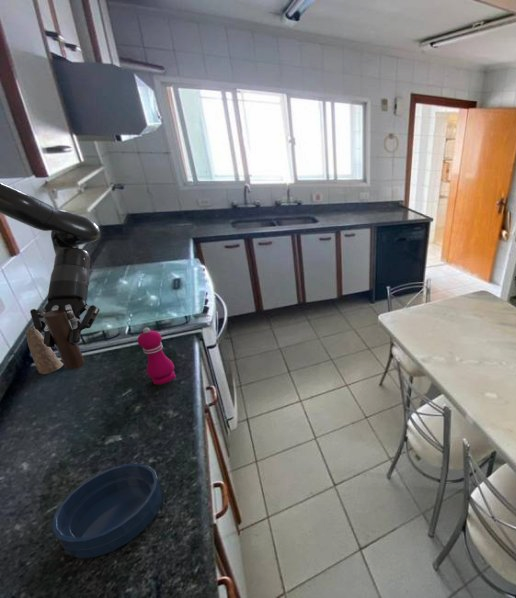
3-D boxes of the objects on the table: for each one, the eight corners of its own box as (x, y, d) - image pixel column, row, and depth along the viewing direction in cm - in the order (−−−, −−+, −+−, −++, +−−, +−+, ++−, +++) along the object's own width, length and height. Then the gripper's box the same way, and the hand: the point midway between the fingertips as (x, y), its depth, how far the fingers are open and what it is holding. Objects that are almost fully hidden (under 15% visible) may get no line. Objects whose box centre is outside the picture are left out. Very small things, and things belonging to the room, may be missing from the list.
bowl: (48, 575, 60) (35, 556, 57) (81, 496, 73) (72, 477, 70) (155, 538, 66) (148, 520, 64) (168, 472, 79) (162, 454, 77)
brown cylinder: (62, 370, 87) (39, 317, 80) (68, 362, 90) (47, 310, 84) (82, 367, 89) (61, 315, 82) (87, 359, 92) (67, 308, 85)
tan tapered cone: (72, 369, 111) (49, 373, 109) (51, 320, 105) (27, 323, 103) (60, 379, 105) (36, 383, 103) (37, 327, 99) (12, 331, 98)
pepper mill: (146, 383, 107) (125, 331, 98) (167, 370, 113) (149, 320, 104) (161, 389, 104) (141, 336, 96) (182, 376, 110) (165, 324, 102)
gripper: (25, 280, 84) (13, 345, 79) (94, 277, 89) (88, 338, 84) (45, 291, 91) (35, 352, 86) (108, 288, 96) (103, 345, 90)
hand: (61, 345), depth 85 cm, fingers closed on brown cylinder, 4 cm apart
